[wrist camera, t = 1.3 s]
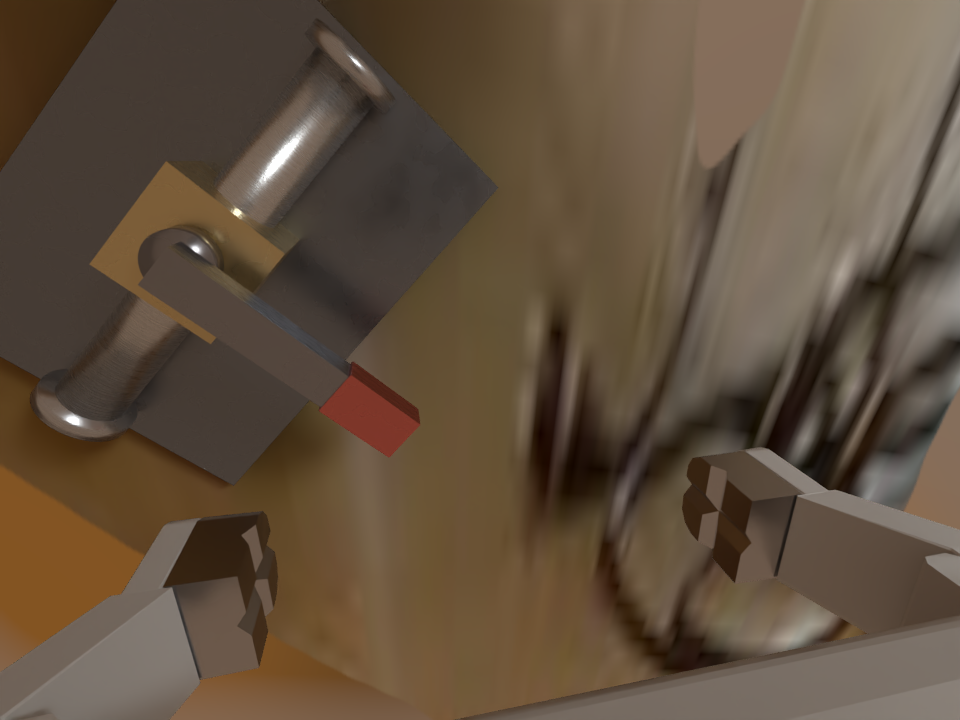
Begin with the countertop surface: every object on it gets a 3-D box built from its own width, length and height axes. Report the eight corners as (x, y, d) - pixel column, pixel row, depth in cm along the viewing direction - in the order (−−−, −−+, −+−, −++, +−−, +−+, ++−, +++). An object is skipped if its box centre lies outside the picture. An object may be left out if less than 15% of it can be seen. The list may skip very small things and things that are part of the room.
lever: (136, 262, 26) (102, 276, 23) (175, 210, 26) (146, 218, 23) (384, 432, 33) (384, 462, 29) (420, 394, 32) (424, 419, 29)
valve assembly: (209, -108, 27) (153, -194, 20) (493, 186, 35) (519, 192, 29) (-71, 299, 32) (-190, 336, 25) (238, 474, 40) (210, 536, 33)
